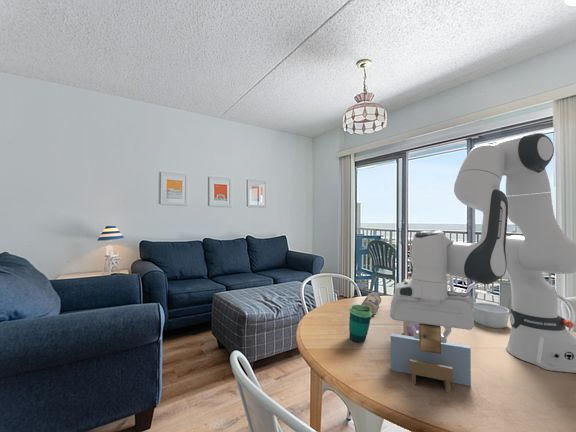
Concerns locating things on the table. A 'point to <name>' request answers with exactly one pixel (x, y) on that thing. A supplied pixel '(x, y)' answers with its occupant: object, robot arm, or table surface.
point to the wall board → (431, 361)
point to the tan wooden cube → (430, 338)
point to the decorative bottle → (372, 302)
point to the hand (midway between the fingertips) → (429, 339)
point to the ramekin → (490, 315)
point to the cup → (359, 322)
